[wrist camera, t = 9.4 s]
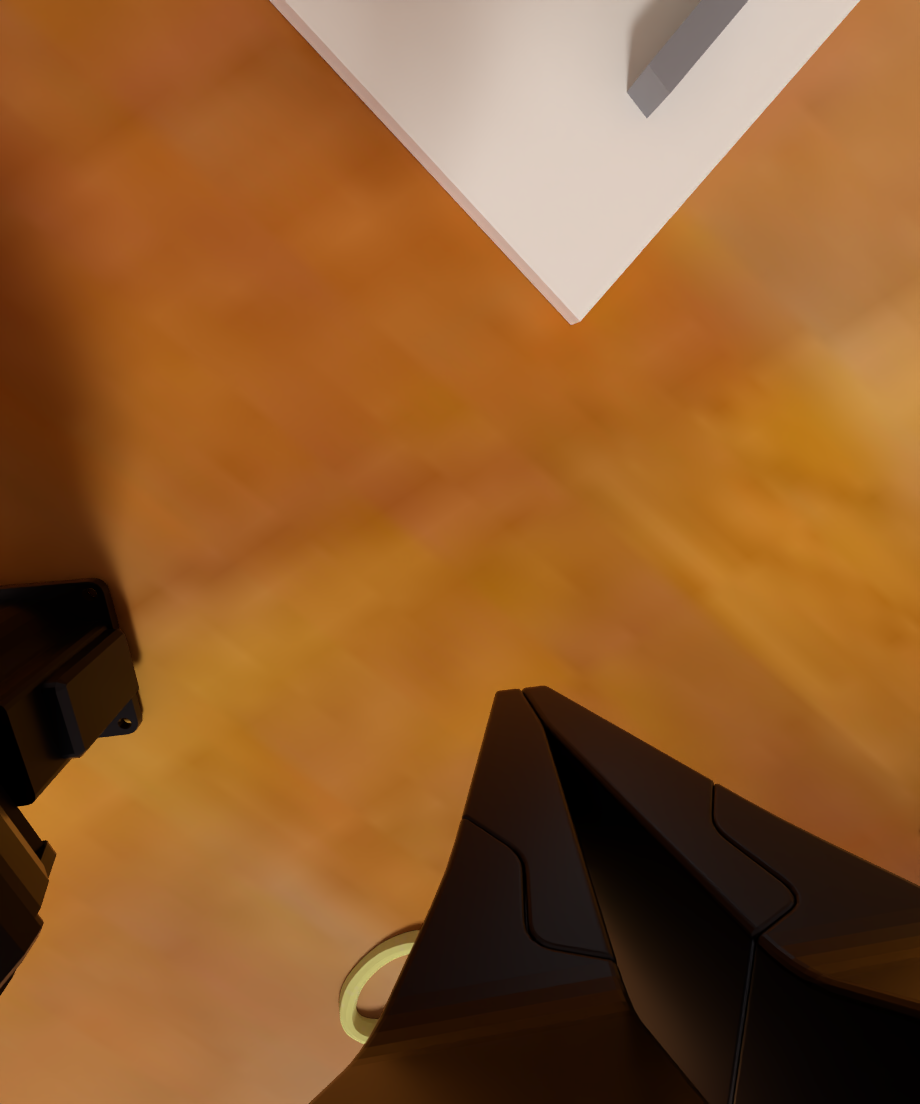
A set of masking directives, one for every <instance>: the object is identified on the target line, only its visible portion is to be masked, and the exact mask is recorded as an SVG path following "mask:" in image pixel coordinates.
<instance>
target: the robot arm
mask: <svg viewBox="0 0 920 1104" xmlns="http://www.w3.org/2000/svg"><path fill="white" fill-rule="evenodd" d="M88 588H92V589H94V590H95V591H96V593H97V597H93V596H91V595H90V594H89V592H88ZM138 690H139V686H138V682H137V678H136V674H135V670H134V666H133V663H132V659H131V655H130V651H129V647H128V643H127V639H126V635H125V633H123V632H122V631H121V630H120V628H119V624H118V621H117V617H116V613H115V609H114V605H113V601H112V598H111V594H110V590H109V588H108V586H107V584H106V583H105V582H104V581H102V580H100V579H97V578H87V579H75V580H64V581H52V582H41V583H29V584H18V585H6V586H0V995H1V994H2V992H3V991H4V989H5V988H6V986H7V985H8V983H9V982H10V980H11V979H12V977H13V975H14V973H15V971H16V969H17V967H18V966H19V965H20V964H21V963H22V961H23V959H24V958H25V956H26V955H27V953H28V952H29V950H30V949H31V947H32V945H33V944H34V942H35V941H36V939H37V938H38V935H39V933H40V931H41V929H42V926H43V923H44V922H43V920H42V919H41V917H40V916H39V915H38V912H39V910H40V908H41V905H42V902H43V899H44V895H45V892H46V889H47V886H48V882H49V879H48V878H49V875H50V872H51V869H52V866H53V863H54V860H55V857H56V852H55V851H54V850H53V848H52V847H51V845H50V844H49V843H48V841H46V840H45V841H41V839H40V838H39V837H38V835H37V834H36V832H35V831H34V830H33V828H32V827H31V825H30V824H29V823H28V821H27V820H26V818H25V817H24V816H23V814H22V813H21V811H20V810H19V809H18V807H17V806H25V805H29V804H32V803H33V802H34V801H35V800H36V799H37V798H38V796H39V795H40V794H41V793H42V792H43V791H44V790H45V788H46V787H47V786H48V785H49V784H50V783H51V782H52V780H53V779H54V778H55V777H56V776H57V775H58V774H59V772H60V771H61V770H62V769H63V768H64V767H65V766H66V764H67V763H68V762H69V761H70V760H71V759H72V758H80V757H81V756H83V754H84V753H85V752H86V751H87V750H88V749H89V747H90V746H91V745H92V744H93V743H94V742H95V740H96V739H97V738H100V737H109V736H117V735H126V734H130V733H133V732H134V731H135V730H136V729H137V728H138V727H139V726H140V724H141V722H142V713H141V709H140V705H139V701H138V698H137V694H136V692H137V691H138ZM123 718H127V719H129V720H130V721H131V723H127V722H125V721H124V720H123ZM309 1104H920V886H918V885H916V884H914V883H912V882H910V881H908V880H906V879H904V878H902V877H900V876H898V875H895V874H893V873H891V872H889V871H887V870H885V869H883V868H881V867H879V866H877V865H875V864H873V863H871V862H868V861H866V860H864V859H862V858H860V857H858V856H856V855H854V854H852V853H850V852H848V851H846V850H844V849H842V848H839V847H837V846H835V845H833V844H831V843H829V842H827V841H825V840H823V839H821V838H819V837H817V836H815V835H813V834H811V833H809V832H807V831H805V830H803V829H801V828H799V827H797V826H795V825H793V824H791V823H789V822H787V821H785V820H783V819H781V818H779V817H777V816H776V815H774V814H772V813H770V812H768V811H766V810H764V809H763V808H761V807H759V806H757V805H755V804H753V803H752V802H750V801H748V800H746V799H744V798H742V797H741V796H739V795H737V794H735V793H734V792H732V791H730V790H728V789H727V788H725V787H723V786H721V785H720V784H715V785H714V782H713V781H712V780H710V779H709V778H707V777H705V776H703V775H702V774H700V773H698V772H696V771H695V770H693V769H691V768H689V767H688V766H686V765H684V764H682V763H681V762H679V761H677V760H675V759H674V758H672V757H670V756H668V755H667V754H665V753H663V752H661V751H660V750H658V749H656V748H654V747H653V746H651V745H649V744H647V743H646V742H644V741H642V740H640V739H639V738H637V737H635V736H633V735H632V734H630V733H628V732H626V731H625V730H623V729H621V728H619V727H617V726H616V725H614V724H612V723H610V722H609V721H607V720H605V719H603V718H602V717H600V716H598V715H596V714H595V713H593V712H591V711H589V710H588V709H586V708H584V707H582V706H581V705H579V704H577V703H575V702H574V701H572V700H570V699H568V698H567V697H565V696H563V695H561V694H560V693H558V692H556V691H554V690H553V689H551V688H549V687H547V686H536V687H528V688H524V689H523V690H522V691H521V690H520V689H510V690H502V691H498V692H496V694H495V697H494V701H493V705H492V708H491V712H490V716H489V719H488V723H487V727H486V730H485V734H484V738H483V742H482V745H481V749H480V753H479V756H478V760H477V764H476V767H475V771H474V775H473V778H472V782H471V786H470V789H469V793H468V797H467V800H466V804H465V808H464V811H463V815H462V820H461V822H460V825H459V829H458V832H457V836H456V839H455V843H454V846H453V849H452V852H451V855H450V858H449V861H448V865H447V868H446V871H445V873H444V876H443V878H442V880H441V883H440V885H439V888H438V890H437V893H436V895H435V898H434V900H433V902H432V905H431V907H430V909H429V911H428V914H427V916H426V918H425V920H424V922H423V925H422V927H421V929H420V931H419V933H418V936H417V938H416V940H415V942H414V944H413V946H412V949H411V951H410V953H409V955H408V957H407V960H406V962H405V964H404V966H403V968H402V971H401V973H400V975H399V977H398V979H397V981H396V984H395V986H394V988H393V990H392V992H391V995H390V997H389V999H388V1001H387V1003H386V1005H385V1007H384V1009H383V1011H382V1013H381V1015H380V1018H379V1020H378V1022H377V1023H376V1025H375V1027H374V1029H373V1031H372V1032H371V1034H370V1036H369V1038H368V1039H367V1041H366V1043H365V1044H364V1046H363V1047H362V1049H361V1050H360V1052H359V1053H358V1054H357V1055H356V1057H355V1058H354V1059H353V1061H352V1062H351V1063H350V1064H349V1065H348V1067H347V1068H346V1069H345V1070H344V1071H343V1072H342V1073H341V1074H339V1075H338V1076H337V1077H336V1078H335V1079H334V1080H333V1081H332V1082H331V1083H330V1084H329V1085H328V1086H327V1087H326V1088H325V1089H324V1090H323V1091H322V1092H320V1093H319V1094H318V1095H317V1096H316V1097H315V1098H314V1099H313V1100H312V1101H311V1102H310V1103H309Z"/></svg>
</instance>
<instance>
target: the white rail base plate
mask: <svg viewBox="0 0 920 1104" xmlns="http://www.w3.org/2000/svg"><path fill="white" fill-rule="evenodd" d="M269 1H270V2H271V3H272V4H273V5H274V6H275V7H276V8H277V9H278V10H279V11H280V12H281V14H282V15H283V16H284V17H285V18H286V19H287V20H288V21H289V22H290V23H291V24H292V25H293V26H294V27H295V29H296V30H297V31H298V32H299V33H300V34H301V35H302V36H303V37H304V38H305V39H306V40H307V41H308V43H309V44H310V45H311V46H312V47H313V48H314V49H315V50H316V51H317V52H318V53H319V54H320V55H321V57H322V58H323V59H324V60H325V61H326V62H327V63H328V64H329V65H330V66H331V67H332V68H333V69H334V71H335V72H336V73H337V74H338V75H339V76H340V77H341V78H342V79H343V80H344V81H345V82H346V83H347V85H348V86H349V87H350V88H351V89H352V90H353V91H354V92H355V93H356V94H357V95H358V96H359V97H360V99H361V100H362V101H363V102H364V103H365V104H366V105H367V106H368V107H369V108H370V109H371V110H372V111H373V113H374V114H375V115H376V116H377V117H378V118H379V119H380V120H381V121H382V122H383V123H384V124H385V125H386V127H387V128H388V129H389V130H390V131H391V132H392V133H393V134H394V135H395V136H396V137H397V138H398V139H399V141H400V142H401V143H402V144H403V145H404V146H405V147H406V148H407V149H408V150H409V151H410V152H411V153H412V155H413V156H414V157H415V158H416V159H417V160H418V161H419V162H420V163H421V164H422V165H423V166H424V167H425V168H426V170H427V171H428V172H429V173H430V174H431V175H432V176H433V177H434V178H435V179H436V180H437V181H438V182H439V184H440V185H441V186H442V187H443V188H444V189H445V190H446V191H447V192H448V193H449V194H450V195H451V196H452V198H453V199H454V200H455V201H456V202H457V203H458V204H459V205H460V206H461V207H462V208H463V209H464V210H465V212H466V213H467V214H468V215H469V216H470V217H471V218H472V219H473V220H474V221H475V222H476V223H477V224H478V226H479V227H480V228H481V229H482V230H483V231H484V232H485V233H486V234H487V235H488V236H489V237H490V238H491V240H492V241H493V242H494V243H495V244H496V245H497V246H498V247H499V248H500V249H501V250H502V251H503V252H504V254H505V255H506V256H507V257H508V258H509V259H510V260H511V261H512V262H513V263H514V264H515V265H516V266H517V268H518V269H519V270H520V271H521V272H522V273H523V274H524V275H525V276H526V277H527V278H528V279H529V280H530V282H531V283H532V284H533V285H534V286H535V287H536V288H537V289H538V290H539V291H540V292H541V293H542V294H543V296H544V297H545V298H546V299H547V300H548V301H549V302H550V303H551V304H552V305H553V306H554V307H555V308H556V310H557V311H558V312H559V313H560V314H561V315H562V316H563V317H564V318H565V319H566V320H567V321H568V322H569V323H570V325H572V324H575V323H578V322H580V321H581V320H582V319H583V318H584V316H585V315H586V314H587V313H588V312H589V311H590V310H591V308H592V307H593V306H594V305H595V304H596V303H597V302H598V300H599V299H600V298H601V297H602V296H603V295H604V294H605V292H606V291H607V290H608V289H609V288H610V287H611V286H612V284H613V283H614V282H615V281H616V280H617V279H618V277H619V276H620V275H621V274H622V273H623V272H624V271H625V269H626V268H627V267H628V266H629V265H630V264H631V263H632V261H633V260H634V259H635V258H636V257H637V256H638V255H639V253H640V252H641V251H642V250H643V249H644V248H645V246H646V245H647V244H648V243H649V242H650V241H651V240H652V238H653V237H654V236H655V235H656V234H657V233H658V232H659V230H660V229H661V228H662V227H663V226H664V225H665V224H666V222H667V221H668V220H669V219H670V218H671V217H672V215H673V214H674V213H675V212H676V211H677V210H678V209H679V207H680V206H681V205H682V204H683V203H684V202H685V201H686V199H687V198H688V197H689V196H690V195H691V194H692V193H693V191H694V190H695V189H696V188H697V187H698V186H699V185H700V183H701V182H702V181H703V180H704V179H705V178H706V176H707V175H708V174H709V173H710V172H711V171H712V170H713V168H714V167H715V166H716V165H717V164H718V163H719V162H720V160H721V159H722V158H723V157H724V156H725V155H726V154H727V152H728V151H729V150H730V149H731V148H732V147H733V145H734V144H735V143H736V142H737V141H738V140H739V139H740V137H741V136H742V135H743V134H744V133H745V132H746V131H747V129H748V128H749V127H750V126H751V125H752V124H753V123H754V121H755V120H756V119H757V118H758V117H759V116H760V115H761V113H762V112H763V111H764V110H765V109H766V108H767V106H768V105H769V104H770V103H771V102H772V101H773V100H774V98H775V97H776V96H777V95H778V94H779V93H780V92H781V90H782V89H783V88H784V87H785V86H786V85H787V84H788V82H789V81H790V80H791V79H792V78H793V77H794V75H795V74H796V73H797V72H798V71H799V70H800V69H801V67H802V66H803V65H804V64H805V63H806V62H807V61H808V59H809V58H810V57H811V56H812V55H813V54H814V53H815V51H816V50H817V49H818V48H819V47H820V46H821V44H822V43H823V42H824V41H825V40H826V39H827V38H828V36H829V35H830V34H831V33H832V32H833V31H834V30H835V28H836V27H837V26H838V25H839V24H840V23H841V22H842V20H843V19H844V18H845V17H846V16H847V15H848V14H849V12H850V11H851V10H852V9H853V8H854V7H855V5H856V4H857V3H858V2H859V1H860V0H269Z"/></svg>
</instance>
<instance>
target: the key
mask: <svg viewBox="0 0 920 1104" xmlns="http://www.w3.org/2000/svg"><path fill="white" fill-rule="evenodd" d="M419 931H420V930H414V931H410V932H406V933H403V934H400V935H397V936H395V937H393V938H390V939H388V940H386V941H384V942H383V943H381V944H380V945H378V946H377V947H375V948H374V949H373V950H372V951H371V952H369V953H368V954H367V955H366V956H365V957H364V958H363V959H362V960H360V962H359V963H358V964H357V965H356V966H355V967H354V968H353V970H352V971H351V972H350V974H349V975H348V976H347V978H346V980H345V982H344V983H343V986H342V989H341V992H340V997H339V1012H340V1021H341V1024H342V1027H343V1029H344V1030H345V1032H346V1034H347V1035H349V1036H350V1037H351V1038H353V1039H354V1040H356V1041H358V1042H360V1043H363V1044H365V1043H366V1041H367V1039H368V1038H369V1036H370V1034H371V1032H372V1031H373V1029H374V1027H375V1025H376V1023H377V1022H378V1020H379V1019H371V1018H366V1017H363V1016H361V1015H360V1014H359V1013H358V1011H357V1009H356V1004H357V1000H358V997H359V994H360V991H361V989H362V988H363V986H364V985H365V983H366V982H367V981H368V979H369V978H370V977H371V976H372V975H373V974H374V973H375V972H376V971H377V970H378V969H379V968H381V967H382V966H384V965H385V964H387V963H388V962H390V961H392V960H393V959H396V958H398V957H401V956H404V955H407V954H409V953H410V951H411V949H412V946H413V944H414V942H415V940H416V938H417V936H418V933H419Z"/></svg>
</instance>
